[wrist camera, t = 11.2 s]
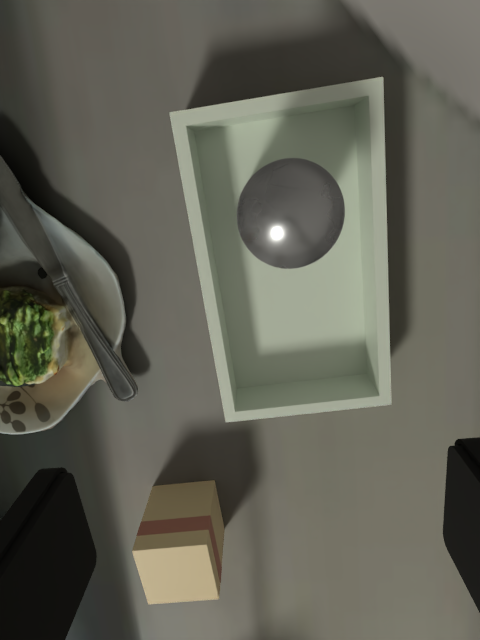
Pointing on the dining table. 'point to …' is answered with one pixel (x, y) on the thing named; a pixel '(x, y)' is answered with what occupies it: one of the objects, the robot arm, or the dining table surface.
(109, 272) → the salad plate
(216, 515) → the cardboard box
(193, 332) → the dining table surface
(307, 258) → the steel can
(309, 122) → the tote
